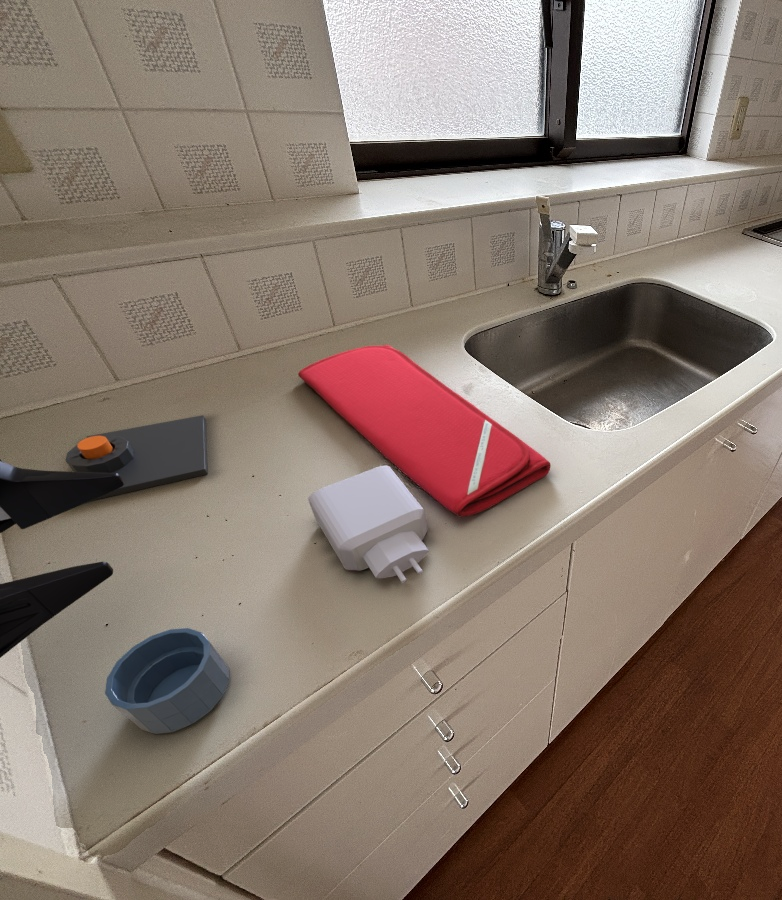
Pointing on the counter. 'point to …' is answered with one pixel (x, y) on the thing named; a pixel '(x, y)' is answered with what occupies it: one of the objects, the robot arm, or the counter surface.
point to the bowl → (168, 680)
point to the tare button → (95, 447)
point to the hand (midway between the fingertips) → (116, 519)
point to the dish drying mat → (426, 428)
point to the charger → (372, 523)
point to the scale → (150, 454)
